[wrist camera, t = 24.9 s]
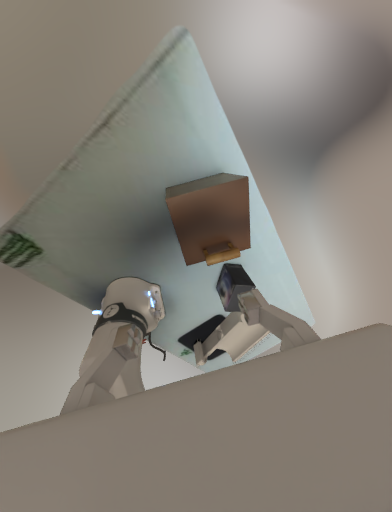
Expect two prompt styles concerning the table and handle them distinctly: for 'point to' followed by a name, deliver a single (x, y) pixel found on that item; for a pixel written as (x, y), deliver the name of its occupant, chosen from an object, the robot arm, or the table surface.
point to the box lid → (212, 221)
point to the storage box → (200, 184)
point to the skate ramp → (231, 338)
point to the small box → (233, 286)
